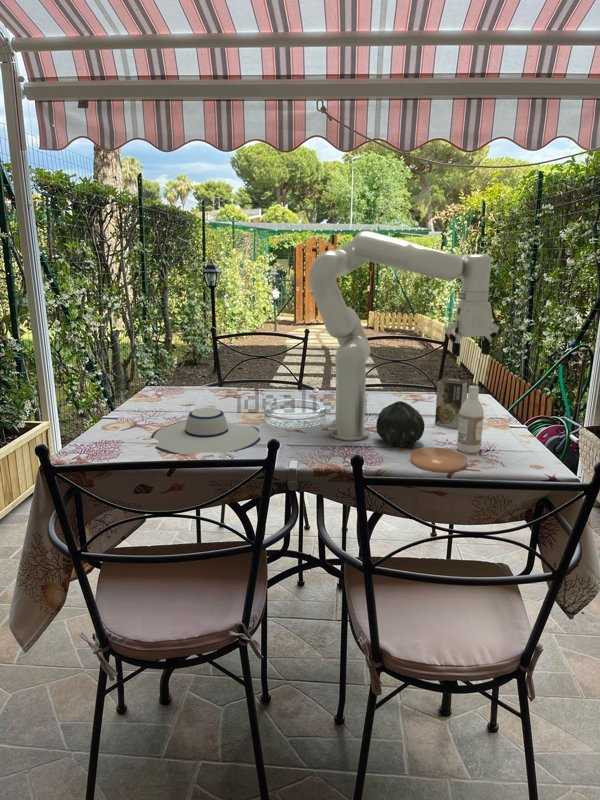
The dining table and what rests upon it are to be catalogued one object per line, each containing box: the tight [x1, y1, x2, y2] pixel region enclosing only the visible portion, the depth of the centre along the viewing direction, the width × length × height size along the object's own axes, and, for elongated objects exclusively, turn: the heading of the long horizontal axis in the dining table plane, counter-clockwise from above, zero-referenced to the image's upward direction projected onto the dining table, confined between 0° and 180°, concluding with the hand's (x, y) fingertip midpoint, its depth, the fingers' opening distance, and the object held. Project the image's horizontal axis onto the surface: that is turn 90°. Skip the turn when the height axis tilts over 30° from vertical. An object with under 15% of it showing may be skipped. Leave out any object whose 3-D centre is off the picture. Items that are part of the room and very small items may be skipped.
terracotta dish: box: [409, 446, 468, 473], centre depth 160 cm, size 16×16×2 cm
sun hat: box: [150, 407, 261, 455], centre depth 181 cm, size 36×36×9 cm
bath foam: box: [456, 385, 484, 454], centre depth 168 cm, size 7×7×20 cm
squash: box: [375, 400, 426, 448], centre depth 175 cm, size 14×15×15 cm
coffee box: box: [434, 377, 469, 430], centre depth 192 cm, size 9×6×16 cm
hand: (470, 354), depth 167 cm, fingers open, 9 cm apart
